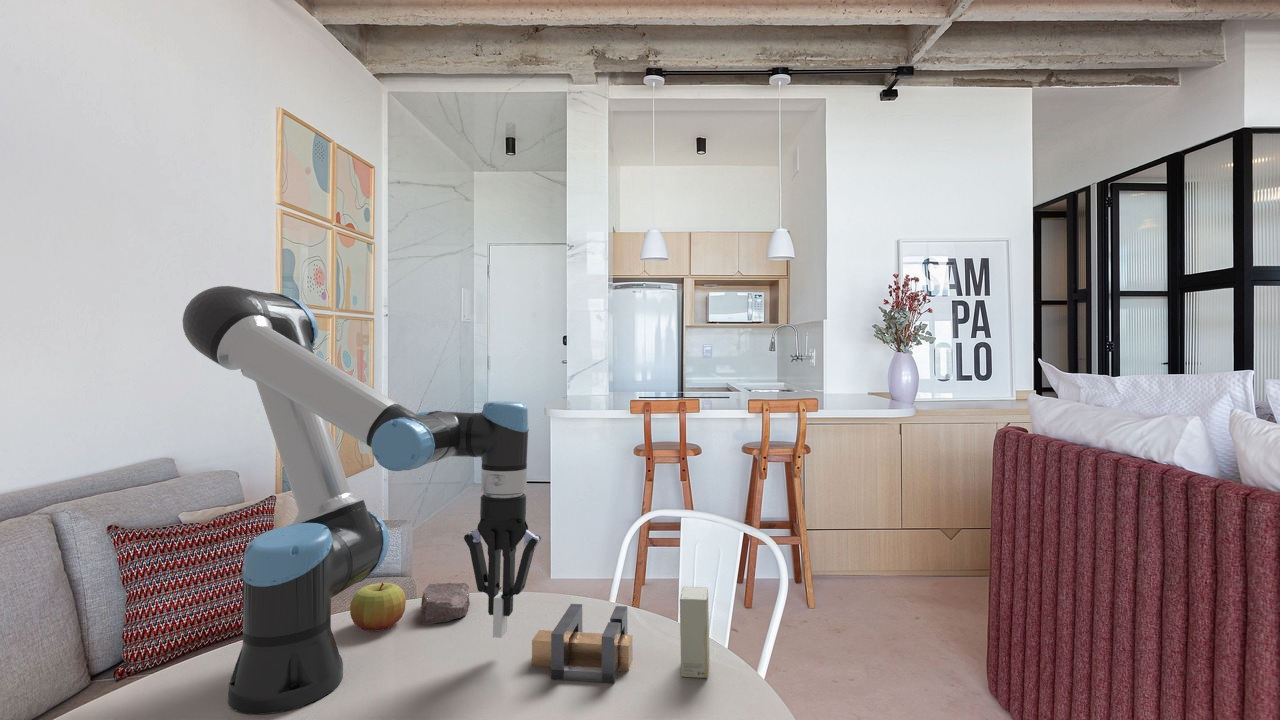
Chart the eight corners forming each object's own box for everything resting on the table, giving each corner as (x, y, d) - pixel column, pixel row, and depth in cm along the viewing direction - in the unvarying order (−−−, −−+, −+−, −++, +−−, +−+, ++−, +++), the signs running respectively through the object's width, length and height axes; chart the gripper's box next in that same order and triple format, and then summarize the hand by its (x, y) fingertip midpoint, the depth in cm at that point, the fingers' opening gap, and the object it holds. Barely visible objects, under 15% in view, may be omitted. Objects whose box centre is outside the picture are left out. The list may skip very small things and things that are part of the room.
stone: (467, 622, 118) (467, 597, 118) (418, 627, 116) (418, 602, 116) (470, 600, 130) (470, 578, 130) (425, 604, 128) (425, 581, 128)
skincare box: (708, 679, 96) (707, 600, 96) (679, 677, 96) (679, 599, 96) (709, 660, 102) (709, 586, 102) (682, 658, 102) (682, 585, 103)
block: (531, 664, 101) (532, 640, 101) (539, 653, 105) (539, 630, 105) (628, 671, 98) (628, 645, 98) (632, 659, 102) (632, 635, 102)
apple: (416, 618, 120) (416, 577, 120) (385, 639, 110) (385, 594, 110) (372, 614, 122) (372, 573, 122) (337, 634, 113) (338, 590, 113)
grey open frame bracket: (551, 679, 96) (551, 633, 96) (571, 643, 108) (571, 603, 108) (614, 683, 94) (614, 637, 95) (627, 647, 107) (627, 606, 107)
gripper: (457, 495, 101) (453, 640, 101) (534, 500, 99) (530, 647, 99) (475, 487, 109) (472, 622, 108) (547, 491, 107) (544, 628, 106)
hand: (499, 634), depth 104 cm, fingers closed
